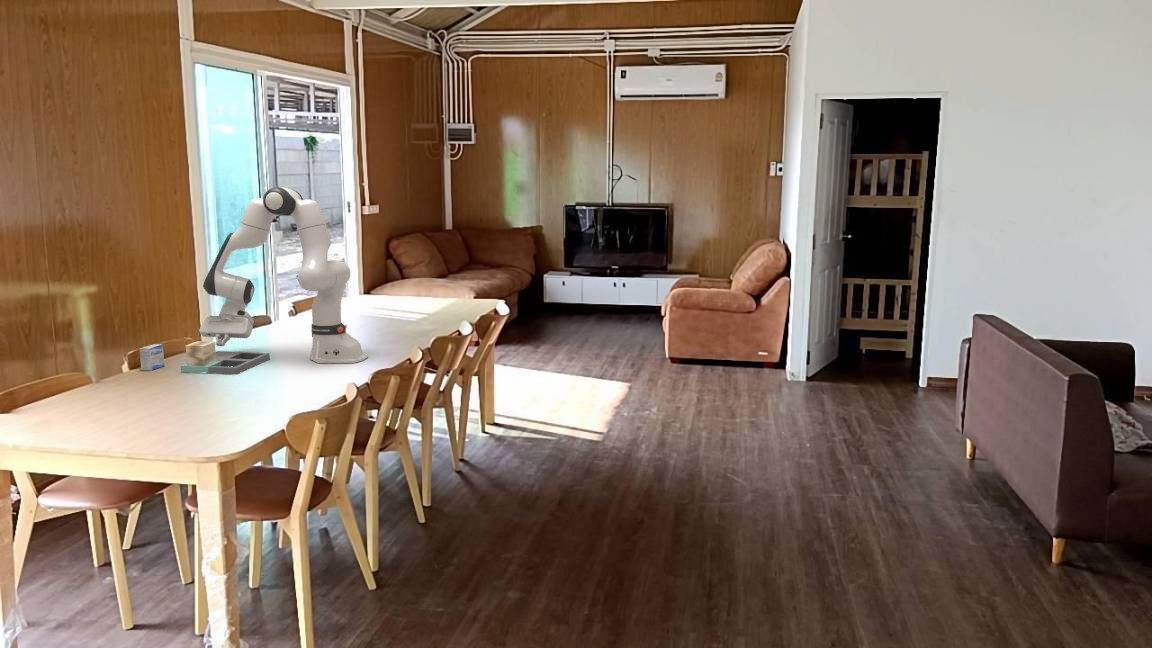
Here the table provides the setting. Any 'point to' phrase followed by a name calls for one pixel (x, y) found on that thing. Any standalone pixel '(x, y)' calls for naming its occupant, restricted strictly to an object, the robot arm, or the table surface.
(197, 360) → the birch block
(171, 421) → the table surface
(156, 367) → the medicine box
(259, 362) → the tray
